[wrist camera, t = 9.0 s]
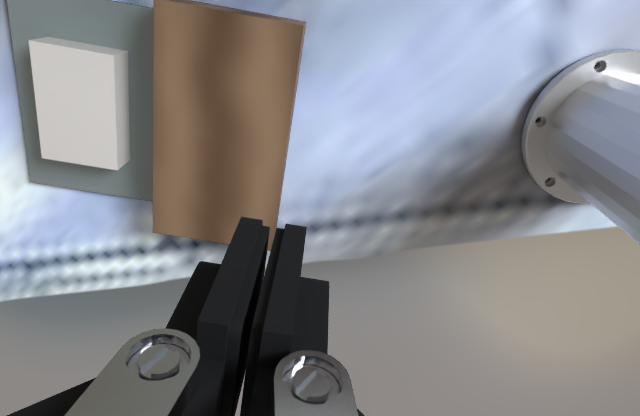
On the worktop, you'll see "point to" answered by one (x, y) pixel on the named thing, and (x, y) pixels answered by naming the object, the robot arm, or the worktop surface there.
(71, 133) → the tile
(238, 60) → the board
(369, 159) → the worktop surface
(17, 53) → the mat
